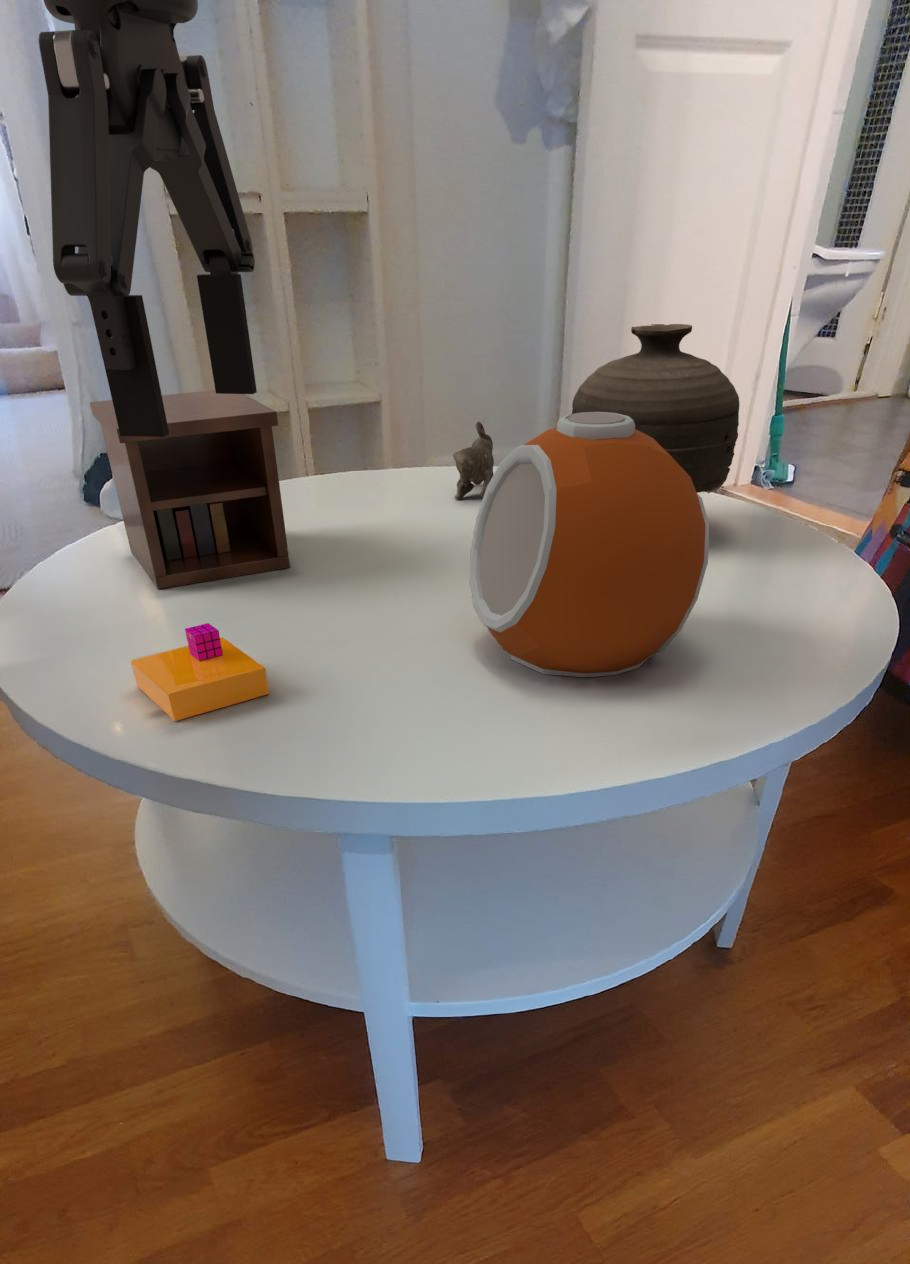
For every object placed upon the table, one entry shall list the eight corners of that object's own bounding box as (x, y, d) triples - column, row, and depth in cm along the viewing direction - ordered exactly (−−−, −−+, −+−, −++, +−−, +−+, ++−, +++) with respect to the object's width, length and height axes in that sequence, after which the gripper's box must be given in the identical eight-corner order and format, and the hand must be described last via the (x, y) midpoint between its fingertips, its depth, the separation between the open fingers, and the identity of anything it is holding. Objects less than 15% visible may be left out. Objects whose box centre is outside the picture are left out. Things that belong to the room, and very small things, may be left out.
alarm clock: (445, 624, 83) (440, 405, 72) (617, 598, 87) (637, 388, 76) (527, 710, 69) (536, 456, 58) (726, 675, 74) (770, 432, 62)
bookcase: (154, 592, 91) (116, 428, 82) (125, 551, 101) (89, 402, 92) (296, 568, 96) (276, 411, 86) (255, 531, 106) (233, 388, 97)
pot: (526, 518, 106) (550, 308, 93) (651, 512, 113) (690, 316, 100) (608, 565, 94) (649, 333, 81) (743, 556, 101) (801, 339, 88)
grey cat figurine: (459, 483, 122) (458, 419, 117) (502, 484, 121) (503, 420, 116) (443, 507, 113) (442, 439, 108) (489, 508, 112) (490, 440, 107)
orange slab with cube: (269, 694, 72) (261, 641, 70) (174, 722, 69) (162, 667, 66) (227, 662, 77) (218, 612, 75) (136, 686, 74) (123, 635, 71)
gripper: (29, -179, 34) (160, 460, 47) (271, -55, 52) (315, 380, 66) (-146, -162, 35) (31, 455, 49) (151, -46, 53) (218, 378, 67)
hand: (194, 413), depth 57 cm, fingers open, 13 cm apart
